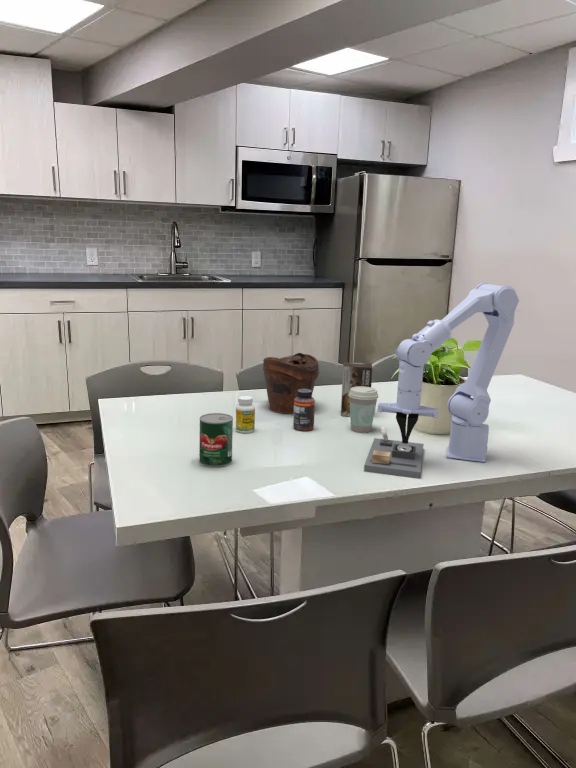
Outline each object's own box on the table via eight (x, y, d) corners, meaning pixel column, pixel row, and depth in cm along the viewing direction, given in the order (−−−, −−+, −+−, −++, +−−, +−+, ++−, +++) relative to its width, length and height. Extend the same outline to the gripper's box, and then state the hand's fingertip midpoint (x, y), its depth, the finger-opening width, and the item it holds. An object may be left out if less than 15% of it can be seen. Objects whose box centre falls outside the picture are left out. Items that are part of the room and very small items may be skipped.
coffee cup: (352, 434, 166) (355, 393, 164) (342, 425, 174) (344, 386, 172) (380, 433, 169) (383, 392, 166) (368, 424, 177) (371, 385, 174)
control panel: (423, 449, 157) (424, 437, 156) (419, 478, 137) (421, 465, 136) (374, 443, 160) (374, 432, 159) (363, 471, 140) (364, 458, 139)
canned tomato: (201, 468, 138) (201, 423, 135) (197, 456, 145) (197, 413, 143) (235, 466, 140) (236, 421, 138) (228, 454, 148) (229, 412, 145)
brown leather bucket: (317, 400, 200) (318, 348, 196) (318, 418, 181) (320, 360, 177) (264, 399, 201) (264, 347, 196) (260, 416, 181) (261, 359, 177)
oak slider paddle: (390, 459, 143) (390, 452, 143) (388, 464, 140) (389, 456, 140) (373, 457, 144) (374, 450, 144) (372, 462, 141) (372, 454, 141)
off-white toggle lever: (388, 439, 155) (385, 426, 155) (388, 440, 154) (384, 427, 154) (384, 440, 155) (380, 427, 155) (383, 441, 154) (380, 428, 154)
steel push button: (411, 452, 149) (412, 446, 149) (410, 456, 145) (411, 450, 145) (397, 450, 150) (397, 444, 149) (396, 455, 146) (396, 448, 146)
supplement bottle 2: (309, 424, 174) (311, 387, 172) (316, 430, 169) (318, 392, 166) (290, 425, 172) (291, 388, 170) (297, 432, 167) (298, 393, 164)
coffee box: (369, 412, 189) (372, 362, 186) (369, 418, 183) (373, 367, 179) (340, 410, 190) (343, 361, 186) (340, 416, 184) (343, 365, 180)
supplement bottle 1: (248, 426, 170) (249, 394, 168) (258, 431, 166) (259, 398, 164) (232, 429, 167) (232, 396, 165) (241, 434, 163) (241, 401, 161)
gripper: (377, 390, 142) (374, 444, 145) (440, 396, 138) (434, 450, 141) (380, 383, 148) (377, 435, 152) (440, 389, 145) (435, 441, 148)
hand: (405, 442), depth 147 cm, fingers closed
